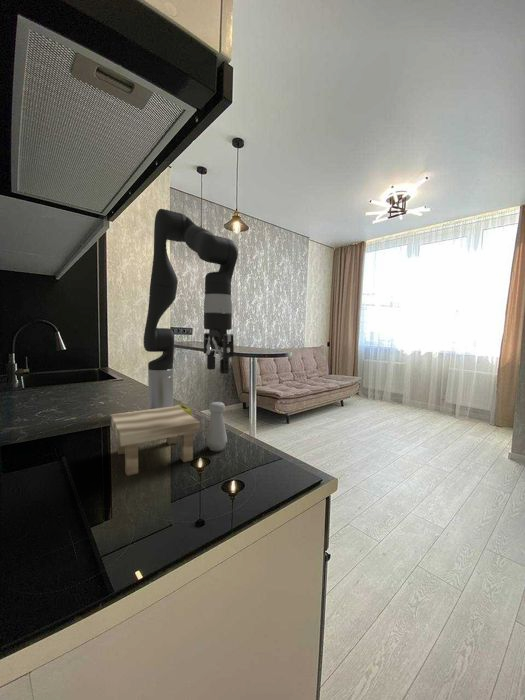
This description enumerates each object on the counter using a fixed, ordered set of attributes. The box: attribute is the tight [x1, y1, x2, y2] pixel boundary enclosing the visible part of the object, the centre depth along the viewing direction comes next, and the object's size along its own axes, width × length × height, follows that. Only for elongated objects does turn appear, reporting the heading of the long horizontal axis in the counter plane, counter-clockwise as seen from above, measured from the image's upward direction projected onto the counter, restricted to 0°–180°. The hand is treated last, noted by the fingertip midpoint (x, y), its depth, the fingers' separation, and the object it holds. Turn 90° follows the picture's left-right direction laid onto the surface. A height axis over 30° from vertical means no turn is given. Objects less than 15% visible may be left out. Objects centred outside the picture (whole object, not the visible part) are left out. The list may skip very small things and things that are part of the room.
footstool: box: [110, 405, 201, 476], centre depth 76 cm, size 18×18×10 cm
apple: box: [173, 400, 193, 417], centre depth 96 cm, size 8×8×10 cm
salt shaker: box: [206, 401, 228, 452], centre depth 81 cm, size 6×6×13 cm
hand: (217, 371), depth 80 cm, fingers open, 8 cm apart
